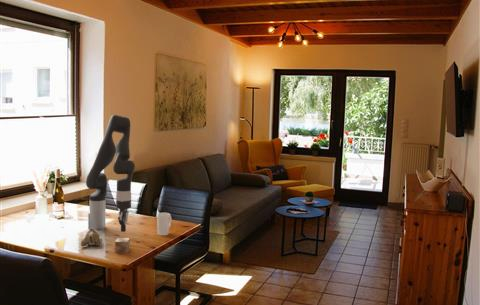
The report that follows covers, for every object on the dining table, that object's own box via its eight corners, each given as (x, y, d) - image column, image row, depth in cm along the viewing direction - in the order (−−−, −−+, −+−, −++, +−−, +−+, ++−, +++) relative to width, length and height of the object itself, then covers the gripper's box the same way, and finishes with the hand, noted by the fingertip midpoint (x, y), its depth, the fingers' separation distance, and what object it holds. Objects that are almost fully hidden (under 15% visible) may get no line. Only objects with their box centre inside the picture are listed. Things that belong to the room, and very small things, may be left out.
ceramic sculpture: (102, 224, 249) (101, 233, 235) (103, 239, 250) (101, 249, 236) (82, 225, 246) (80, 234, 232) (82, 240, 248) (80, 250, 233)
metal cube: (117, 237, 235) (117, 249, 236) (115, 241, 229) (115, 252, 230) (129, 238, 235) (129, 249, 236) (127, 241, 229) (127, 253, 230)
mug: (162, 236, 260) (163, 216, 258) (154, 234, 264) (154, 214, 262) (175, 232, 268) (175, 212, 267) (167, 230, 272) (167, 211, 270)
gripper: (119, 195, 239) (119, 227, 241) (112, 201, 226) (112, 235, 228) (133, 196, 240) (133, 228, 241) (127, 201, 226) (127, 235, 228)
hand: (123, 231), depth 235 cm, fingers closed
